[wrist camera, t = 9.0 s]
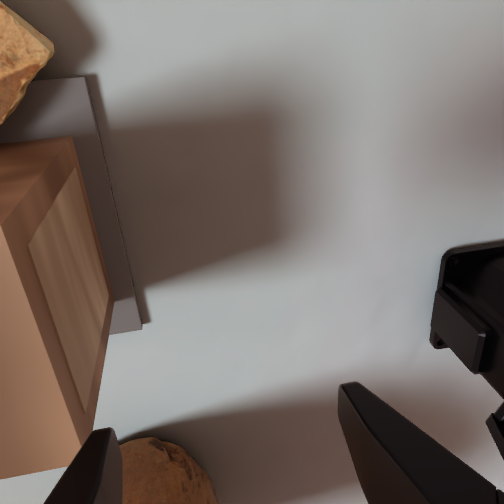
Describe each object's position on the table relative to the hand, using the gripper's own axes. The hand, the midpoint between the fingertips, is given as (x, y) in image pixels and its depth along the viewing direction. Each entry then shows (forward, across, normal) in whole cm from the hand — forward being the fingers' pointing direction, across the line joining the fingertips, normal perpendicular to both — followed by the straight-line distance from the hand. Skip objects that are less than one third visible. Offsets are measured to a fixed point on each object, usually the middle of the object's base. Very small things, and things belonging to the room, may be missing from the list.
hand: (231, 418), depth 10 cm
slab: (+12, +6, 0) cm, 13 cm away
